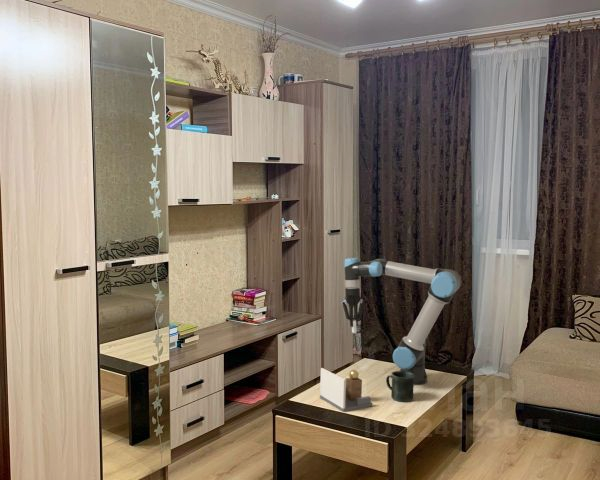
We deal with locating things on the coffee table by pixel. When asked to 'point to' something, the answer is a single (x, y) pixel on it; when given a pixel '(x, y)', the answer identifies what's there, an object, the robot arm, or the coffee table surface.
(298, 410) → the coffee table surface
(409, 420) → the coffee table surface
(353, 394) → the slider
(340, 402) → the stand
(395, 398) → the mug
